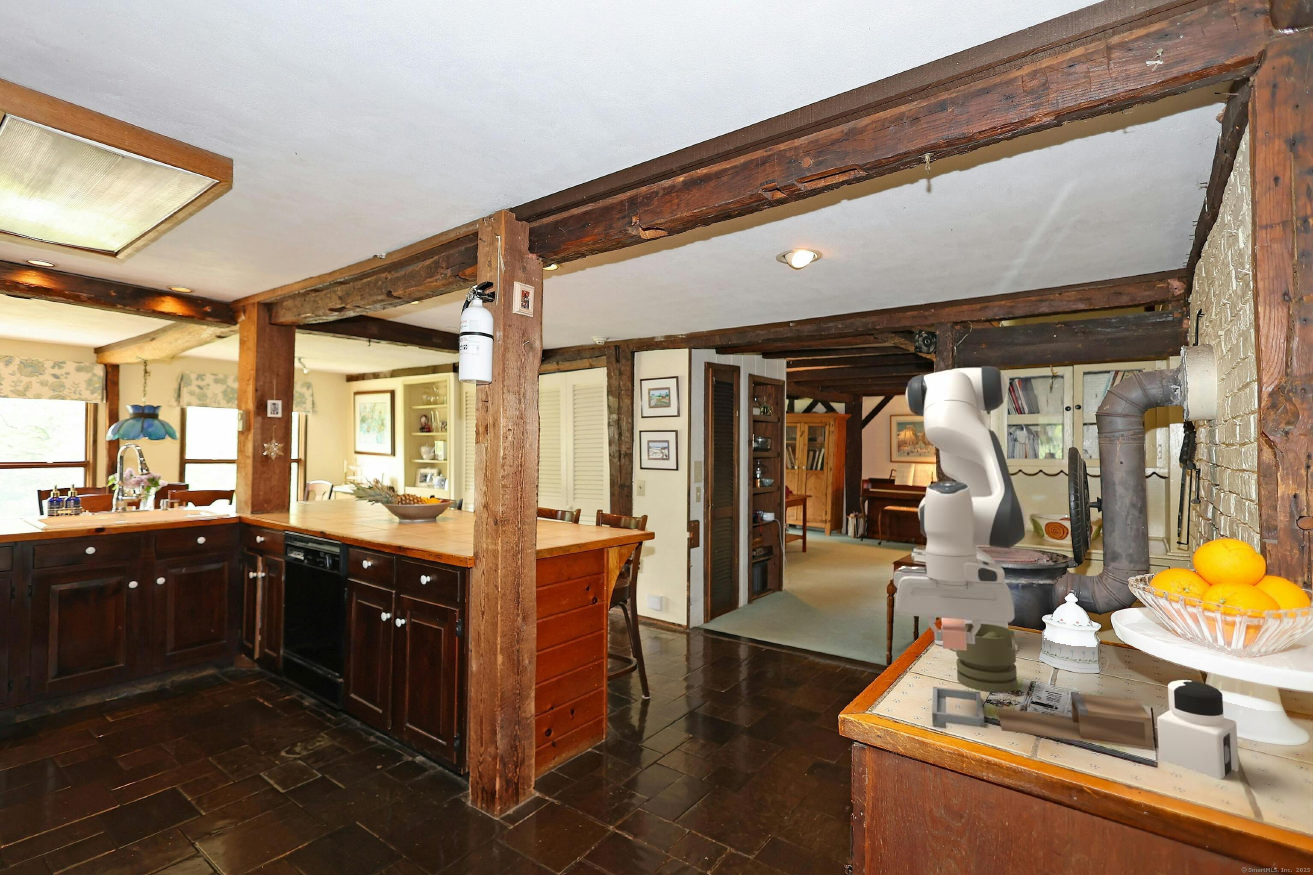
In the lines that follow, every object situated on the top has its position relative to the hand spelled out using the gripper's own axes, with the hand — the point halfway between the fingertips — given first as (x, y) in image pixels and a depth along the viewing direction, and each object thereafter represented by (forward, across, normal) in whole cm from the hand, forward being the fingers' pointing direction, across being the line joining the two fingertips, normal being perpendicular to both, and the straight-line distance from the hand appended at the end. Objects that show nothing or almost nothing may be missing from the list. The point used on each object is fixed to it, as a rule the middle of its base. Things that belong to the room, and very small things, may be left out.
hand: (954, 641), depth 119 cm
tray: (+15, 0, +3) cm, 15 cm away
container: (+15, +34, -6) cm, 38 cm away
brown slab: (+15, +18, +1) cm, 23 cm away
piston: (+15, +6, +20) cm, 25 cm away
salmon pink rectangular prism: (+1, 0, +3) cm, 3 cm away
